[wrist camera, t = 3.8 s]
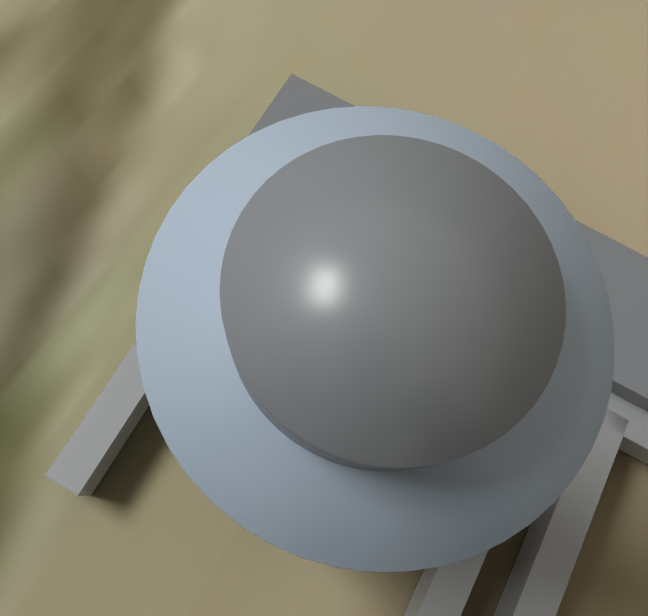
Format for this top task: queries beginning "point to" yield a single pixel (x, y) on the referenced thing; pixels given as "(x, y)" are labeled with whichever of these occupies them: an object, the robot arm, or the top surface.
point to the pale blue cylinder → (375, 339)
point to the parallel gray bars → (545, 532)
